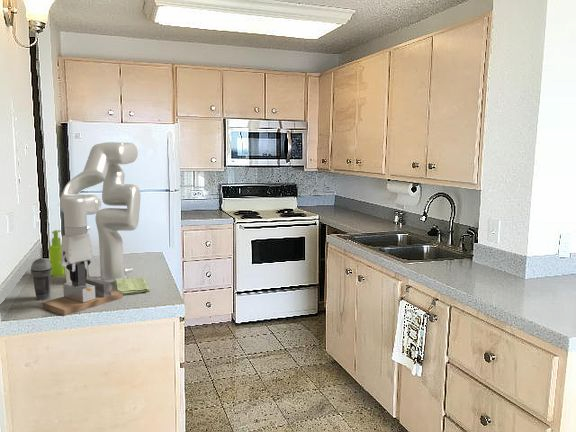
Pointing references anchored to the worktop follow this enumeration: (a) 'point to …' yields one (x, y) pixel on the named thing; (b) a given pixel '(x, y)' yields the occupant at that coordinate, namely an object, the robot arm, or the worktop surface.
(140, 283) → the washcloth
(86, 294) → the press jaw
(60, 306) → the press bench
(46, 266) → the beverage cup
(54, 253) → the soap dispenser
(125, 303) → the worktop surface
